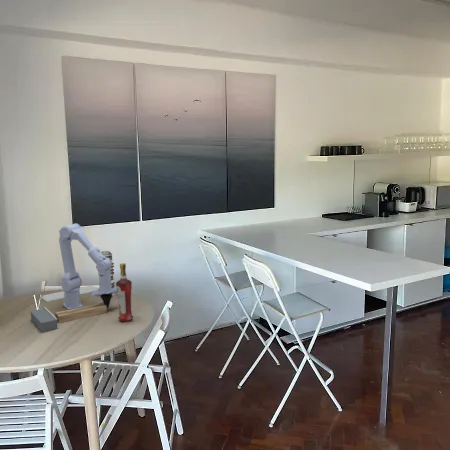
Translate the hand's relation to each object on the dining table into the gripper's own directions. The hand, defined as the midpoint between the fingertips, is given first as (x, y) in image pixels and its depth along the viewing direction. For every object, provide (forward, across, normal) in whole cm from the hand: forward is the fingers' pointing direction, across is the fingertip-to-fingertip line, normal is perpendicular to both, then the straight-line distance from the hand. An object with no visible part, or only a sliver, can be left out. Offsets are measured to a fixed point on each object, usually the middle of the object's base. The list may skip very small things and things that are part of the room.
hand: (106, 307), depth 243 cm
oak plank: (+1, -15, 0) cm, 15 cm away
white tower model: (+2, +10, +25) cm, 27 cm away
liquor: (+2, +2, -19) cm, 19 cm away
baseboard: (+2, -7, +39) cm, 40 cm away
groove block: (+1, -31, 0) cm, 31 cm away
